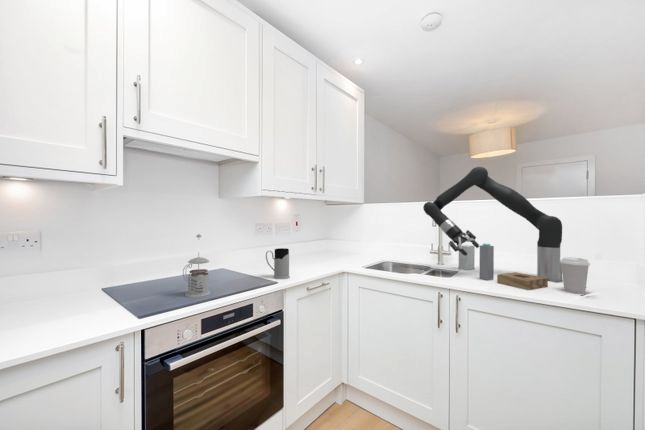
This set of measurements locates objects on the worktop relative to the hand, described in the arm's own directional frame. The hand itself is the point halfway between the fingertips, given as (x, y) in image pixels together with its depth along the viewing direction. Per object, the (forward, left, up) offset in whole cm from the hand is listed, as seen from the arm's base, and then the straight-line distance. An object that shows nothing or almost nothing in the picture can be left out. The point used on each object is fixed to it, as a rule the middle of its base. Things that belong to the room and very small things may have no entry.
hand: (472, 251), depth 149 cm
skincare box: (-6, -23, -14) cm, 28 cm away
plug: (-3, +8, -14) cm, 17 cm away
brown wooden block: (-14, +18, -14) cm, 27 cm away
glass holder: (+105, +12, -14) cm, 106 cm away
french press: (+130, +47, -14) cm, 139 cm away
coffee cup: (-30, +27, -14) cm, 43 cm away
